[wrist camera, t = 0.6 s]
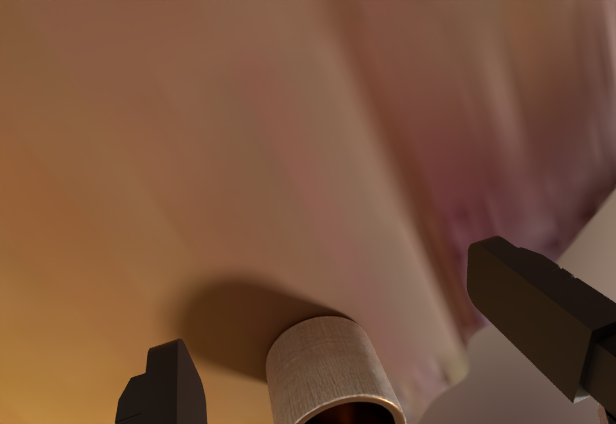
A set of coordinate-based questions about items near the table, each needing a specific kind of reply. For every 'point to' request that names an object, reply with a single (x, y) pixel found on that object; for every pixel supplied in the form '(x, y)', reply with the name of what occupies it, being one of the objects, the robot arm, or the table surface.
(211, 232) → the table surface
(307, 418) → the planter
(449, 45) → the table surface
